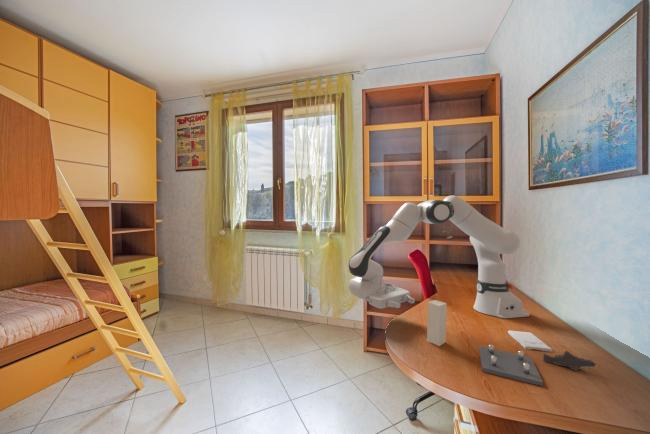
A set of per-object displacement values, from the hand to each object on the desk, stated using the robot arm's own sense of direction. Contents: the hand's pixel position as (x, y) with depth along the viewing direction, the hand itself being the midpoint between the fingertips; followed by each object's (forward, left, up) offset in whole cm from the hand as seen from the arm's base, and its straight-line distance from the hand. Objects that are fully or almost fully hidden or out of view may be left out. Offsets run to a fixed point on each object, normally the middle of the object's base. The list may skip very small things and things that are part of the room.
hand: (406, 303), depth 104 cm
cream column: (-8, +10, -10) cm, 16 cm away
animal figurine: (-41, +25, -11) cm, 49 cm away
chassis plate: (-23, +25, -10) cm, 35 cm away
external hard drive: (-42, +9, -11) cm, 44 cm away
